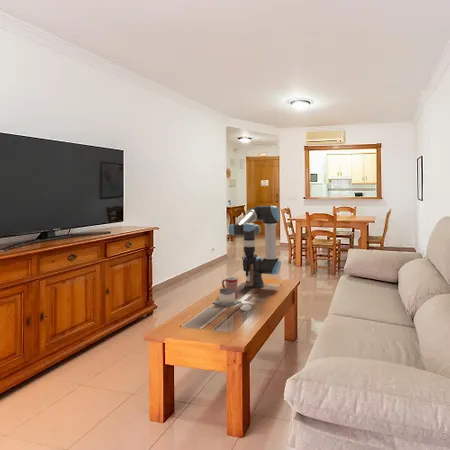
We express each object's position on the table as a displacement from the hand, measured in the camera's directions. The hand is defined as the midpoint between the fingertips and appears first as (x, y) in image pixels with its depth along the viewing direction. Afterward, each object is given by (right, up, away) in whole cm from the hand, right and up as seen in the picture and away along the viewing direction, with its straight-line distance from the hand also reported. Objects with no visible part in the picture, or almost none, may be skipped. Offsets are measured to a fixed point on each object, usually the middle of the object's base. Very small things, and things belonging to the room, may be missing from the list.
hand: (249, 280), depth 288 cm
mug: (-13, -15, +20) cm, 28 cm away
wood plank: (0, -4, 0) cm, 4 cm away
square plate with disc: (-16, -16, +2) cm, 22 cm away
